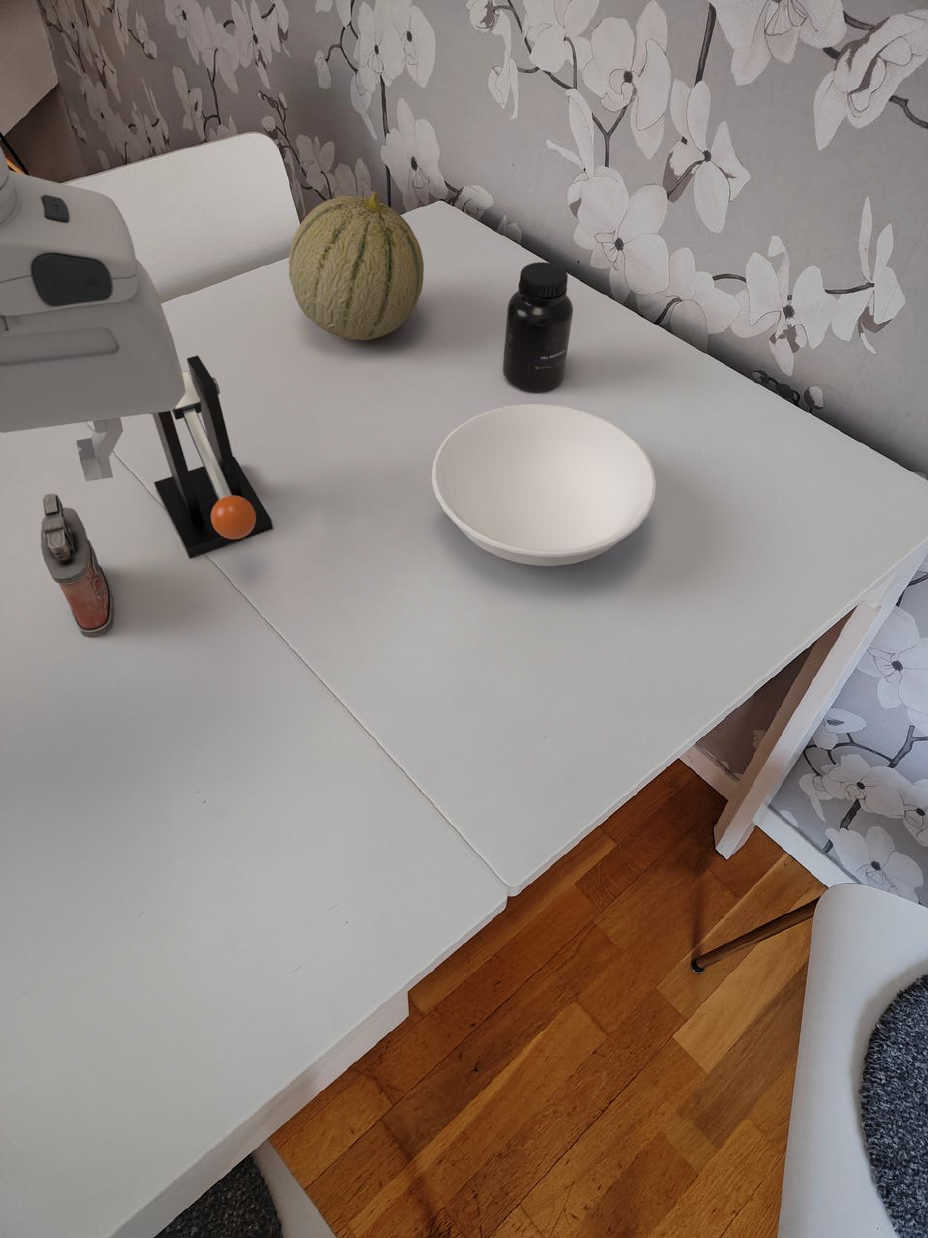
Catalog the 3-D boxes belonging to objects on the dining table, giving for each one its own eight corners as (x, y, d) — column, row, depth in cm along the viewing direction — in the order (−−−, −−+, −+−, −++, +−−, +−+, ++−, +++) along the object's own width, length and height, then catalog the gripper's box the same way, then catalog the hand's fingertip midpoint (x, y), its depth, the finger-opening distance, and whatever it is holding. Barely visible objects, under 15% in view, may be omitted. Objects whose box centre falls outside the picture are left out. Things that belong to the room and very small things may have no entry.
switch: (261, 535, 74) (264, 524, 70) (220, 549, 73) (221, 539, 69) (196, 382, 74) (196, 364, 71) (155, 394, 73) (152, 377, 70)
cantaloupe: (271, 335, 100) (248, 205, 88) (353, 281, 108) (342, 155, 96) (370, 382, 95) (360, 250, 83) (450, 321, 102) (450, 193, 91)
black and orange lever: (273, 528, 80) (245, 396, 69) (189, 558, 78) (145, 426, 66) (236, 465, 86) (204, 332, 74) (156, 491, 83) (110, 358, 72)
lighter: (119, 631, 73) (80, 548, 65) (77, 642, 72) (33, 560, 64) (107, 564, 77) (70, 479, 70) (67, 574, 76) (25, 489, 69)
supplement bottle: (551, 400, 93) (563, 298, 84) (492, 383, 95) (498, 281, 86) (573, 366, 97) (587, 265, 88) (517, 350, 99) (524, 249, 90)
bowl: (468, 437, 89) (470, 385, 84) (660, 479, 86) (673, 428, 81) (401, 573, 77) (398, 522, 72) (621, 629, 74) (633, 579, 69)
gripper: (-396, 306, 32) (-217, 562, 43) (169, 261, 39) (204, 493, 49) (-366, 225, 36) (-208, 479, 46) (147, 196, 42) (184, 425, 53)
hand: (8, 486), depth 48 cm, fingers open, 8 cm apart
